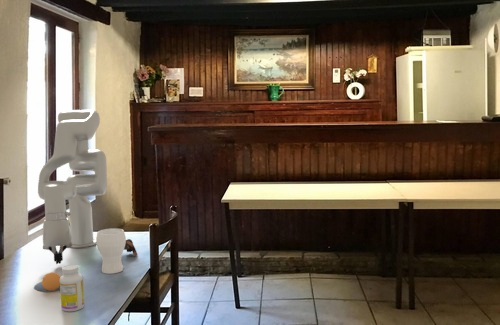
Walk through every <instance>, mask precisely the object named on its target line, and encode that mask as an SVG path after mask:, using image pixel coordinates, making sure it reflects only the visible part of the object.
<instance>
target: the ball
mask: <svg viewBox="0 0 500 325" xmlns="http://www.w3.org/2000/svg"><path fill="white" fill-rule="evenodd" d="M60 278H61V276H60V274H58V273H57V272H48V273H46V274H45V275H44V276H43V277H42V280H41V282H42V285H43V287H44V288H45V289H46V290H49V291H48V292H54V291H53V290H56V289H57V288H58V287H59V286H60Z"/></svg>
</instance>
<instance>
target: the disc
mask: <svg viewBox="0 0 500 325" xmlns="http://www.w3.org/2000/svg"><path fill="white" fill-rule="evenodd" d="M33 288H34V289H35V290H36V291H39V292H50V291H49V290H46V289H45V288H44V287H43V285H42V281H40V282H38V283H36V284H35V285H34V287H33ZM56 291H57V292H58V291H60V286H59V287H58V288H57V289H56V290H53V291H52V292H56Z"/></svg>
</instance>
